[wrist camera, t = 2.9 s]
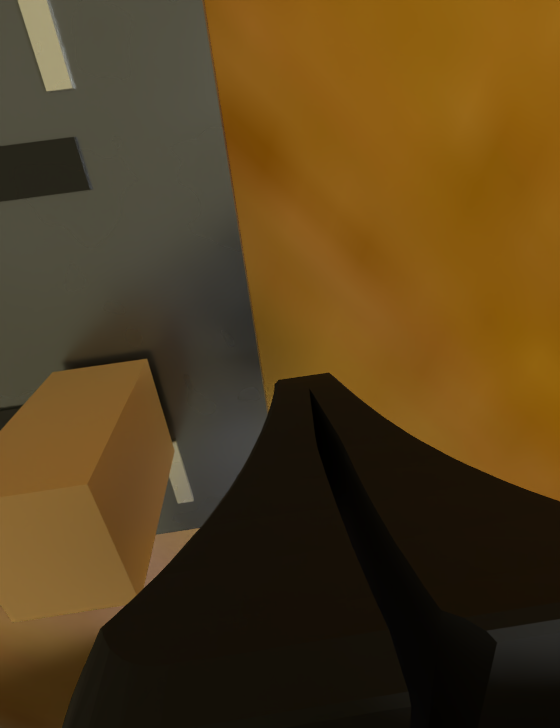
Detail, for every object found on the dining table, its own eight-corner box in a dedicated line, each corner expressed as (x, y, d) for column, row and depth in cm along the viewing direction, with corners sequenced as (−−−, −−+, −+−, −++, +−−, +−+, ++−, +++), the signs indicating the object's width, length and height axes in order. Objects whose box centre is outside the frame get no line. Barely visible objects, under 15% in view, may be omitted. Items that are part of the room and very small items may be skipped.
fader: (174, 450, 12) (140, 603, 8) (91, 463, 12) (12, 623, 8) (147, 358, 10) (87, 484, 6) (52, 372, 10) (-69, 507, 6)
